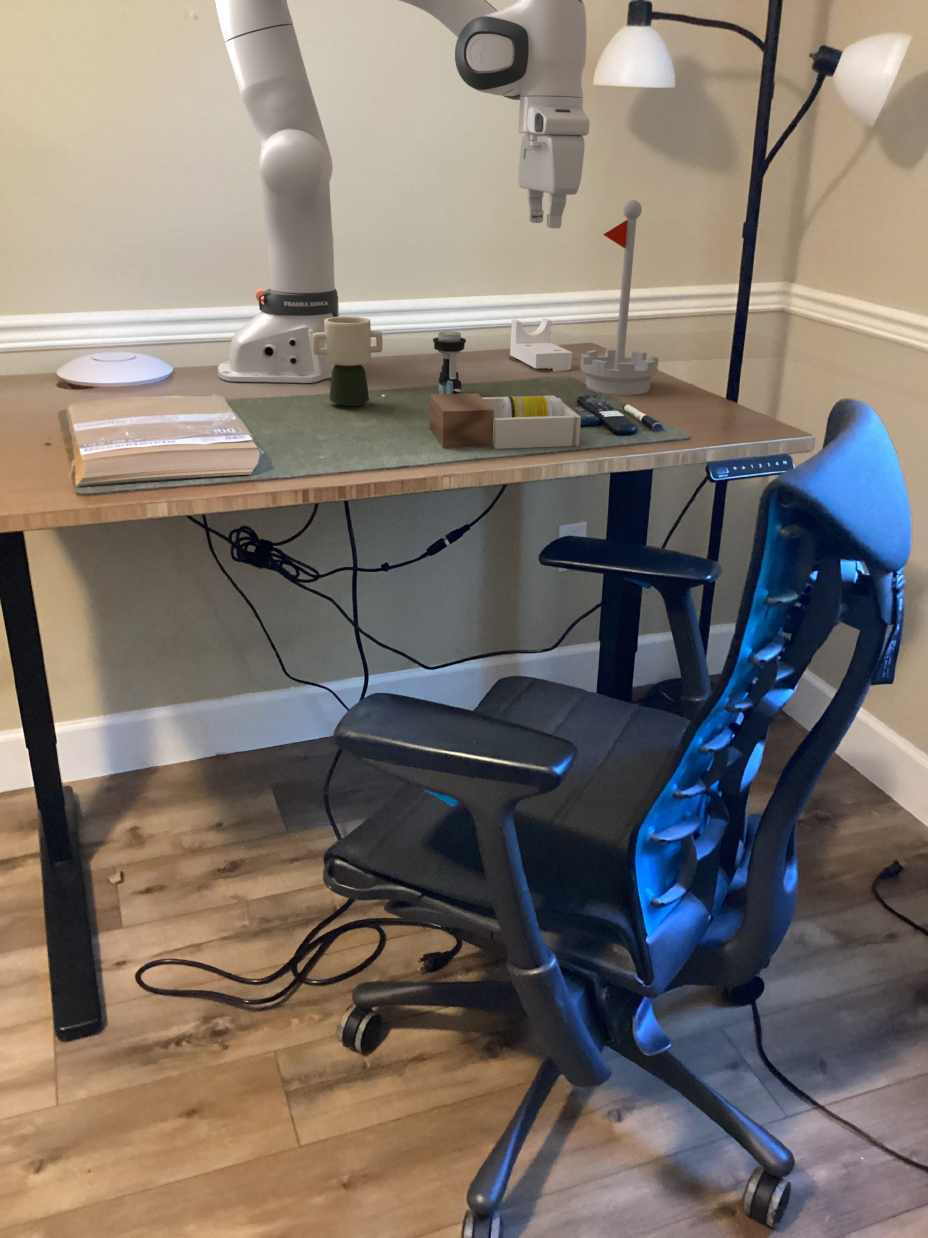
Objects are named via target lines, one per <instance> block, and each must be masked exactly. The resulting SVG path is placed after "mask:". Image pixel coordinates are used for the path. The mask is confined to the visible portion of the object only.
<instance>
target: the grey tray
mask: <svg viewBox="0 0 928 1238" xmlns="http://www.w3.org/2000/svg"><path fill="white" fill-rule="evenodd" d="M545 396H546V397H547V398H548V399H550V398H557V397H556V396H555V395H545ZM503 397H504V396H493V397H492V396H491V397H490V396H489V397H488V396H486V397H482V398H483V399H484V400H485V401H486V402H487V403H488V404H489V405H490V406H491V407H492V409H493V410H494V420H493V446H492V448H494V449H495V450H498V449H499V450H502V449H524V448H525V449H526V448H543V447H544V448H546V447H547V448H552V447H579V446H580V436H581V421H582V420H581V419H582V417H581V416H580V415H579V414H578V413H576V411H575V410H573V409H571V407H569V406H568V405H566V404H565V403H564V401H562V403H563V408H564V416H544V417H513V418H500V403H501V400H502V398H503Z"/></svg>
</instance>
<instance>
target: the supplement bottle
mask: <svg viewBox="0 0 928 1238" xmlns="http://www.w3.org/2000/svg"><path fill="white" fill-rule="evenodd" d="M546 396H547V395H529V396H527V395H526V396H525V395H524V396H523V395H522V396H521V395H520V396H519V395H518V396H502V397H503V398H502V400H501V403H500V418H513V417H544V416H564V408H563V403H564V402H563V400H562V399H561V397H556V398H550V399H548V398H547V397H546ZM562 402H563V403H562Z"/></svg>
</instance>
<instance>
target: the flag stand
mask: <svg viewBox="0 0 928 1238" xmlns="http://www.w3.org/2000/svg"><path fill="white" fill-rule="evenodd" d="M622 211H623V215H624V216H625V218H626V220H624V221H622V222H621V223H619V224H618V225H616V226H614V227H613V228H611V229H609V230H607V231H606V232H604V233H603V234H602V235H603V236H605V237H606V238H607V239H609V240H611V241H612V242H614V243H616V244H617V245H618V246H620V247H622V249H623V250H624V251H623V252H624V253H623V262H622V274H621V275H622V276H621V287H620V296H619V297H620V299H619V309H618V311H619V312H618V320H617V321H618V322H617V323H618V324H617V335H616V348H607V349H606V348H605V354H604V355H598V352H599V351H598V350H595V349H593V350H587V351H585V352H584V354H580V355H581V357H580V370H581V372H582V373H584V374H585V384H586V385H587V386H588V387H590V388H592V389H594V390H597V391H599V392H602V393H601V394H606V395H613V396H614V395H615V396H616V395H617V396H632V395H641V394H646V393H647V392H649V391H650V388H651V387H650V386H651V379H652V378H653V377H654V376H656V375H657V374H658V367H659V357H658V356H657V355H654V354H653V355H649V356H648V357H649V358H648V359H647V355H648V353H647V352H645V351H639V350H632V352H631V356H626V355H625V353H626V343H627V332H628V321H629V320H628V318H629V311H630V307H629V306H630V297H631V296H630V295H631V285H632V275H633V274H632V273H633V265H634V264H633V262H634V254H635V253H634V251H635V240H636V239H635V238H636V228H637V227H636V226H637V220H638V218H639V217H640V216H641V214H642V211H643V209H642V204H641V203H640V202H639V201H638V200H635V199H632V200H631V199H630V200H628V201H627V202H625V204H624V206H623V210H622ZM585 384H584V385H585ZM599 392H598V393H599Z"/></svg>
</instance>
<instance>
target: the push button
mask: <svg viewBox="0 0 928 1238" xmlns="http://www.w3.org/2000/svg"><path fill="white" fill-rule="evenodd" d="M432 342H433V348H434V350H435V351H438V353H440V354H442V355H441V372H439V376H438V379H437V380H438V382H437V384H438V385H437V387H438V388H437V392H438V393H437V394H460V392H461V393H462V386H463V385H462V381H461V379H460V380H459V372H458V371H457V355H458V354H460V353H461V352H462V351H464V350H465V343H467V339H466V338H465V337H464V338H463V337H462V336H461V332H459V331H452V330H451V331H450V330H449V331H448V330H447V331H445V330H443V331H439V332H438V334H437V337H433V339H432Z"/></svg>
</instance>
